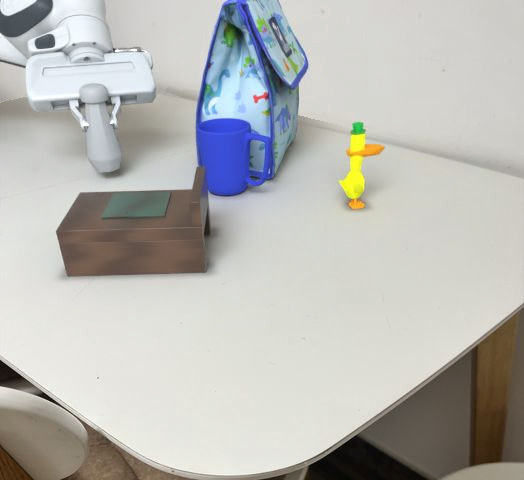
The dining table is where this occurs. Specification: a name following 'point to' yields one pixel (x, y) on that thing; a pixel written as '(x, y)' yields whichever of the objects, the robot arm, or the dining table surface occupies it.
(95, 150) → the salt shaker
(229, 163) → the mug
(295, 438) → the dining table surface
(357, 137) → the toy figure
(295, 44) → the lunch bag
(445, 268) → the dining table surface
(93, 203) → the toy bed
